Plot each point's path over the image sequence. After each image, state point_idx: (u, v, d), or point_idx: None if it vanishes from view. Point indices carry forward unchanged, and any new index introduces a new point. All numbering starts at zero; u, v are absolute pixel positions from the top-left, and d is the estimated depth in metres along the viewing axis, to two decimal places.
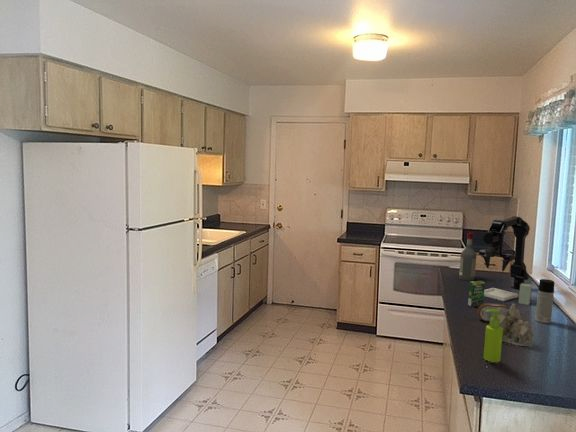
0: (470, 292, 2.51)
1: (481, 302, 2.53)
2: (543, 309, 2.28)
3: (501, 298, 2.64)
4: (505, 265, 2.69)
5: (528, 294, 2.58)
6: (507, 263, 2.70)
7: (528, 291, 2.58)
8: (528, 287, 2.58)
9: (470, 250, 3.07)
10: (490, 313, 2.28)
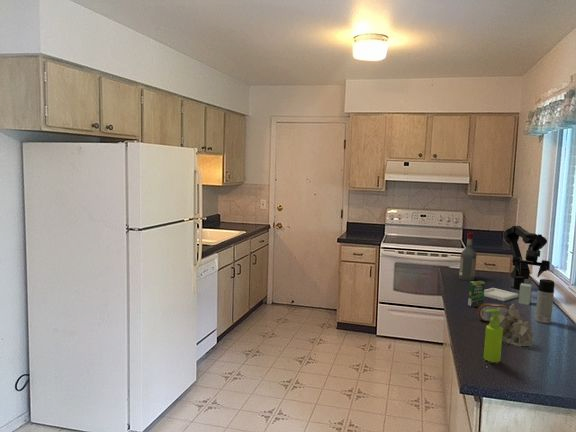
0: (470, 292, 2.51)
1: (481, 302, 2.53)
2: (543, 309, 2.28)
3: (501, 298, 2.64)
4: (541, 271, 2.66)
5: (528, 294, 2.58)
6: (542, 271, 2.67)
7: (528, 291, 2.58)
8: (528, 287, 2.58)
9: (470, 250, 3.07)
10: (490, 313, 2.28)
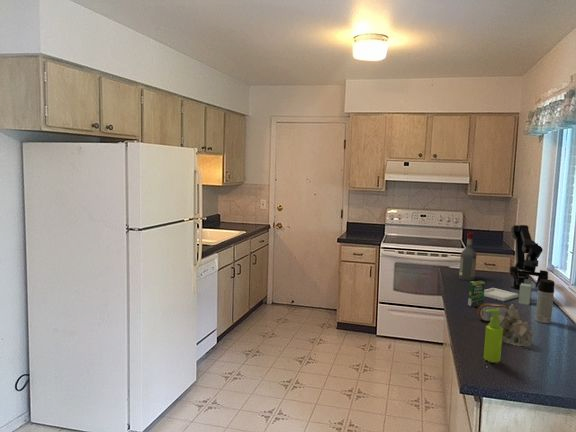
0: (470, 292, 2.51)
1: (481, 302, 2.53)
2: (543, 309, 2.28)
3: (501, 298, 2.64)
4: (539, 282, 2.61)
5: (528, 294, 2.58)
6: None
7: (528, 291, 2.58)
8: (528, 287, 2.58)
9: (470, 250, 3.07)
10: (490, 313, 2.28)
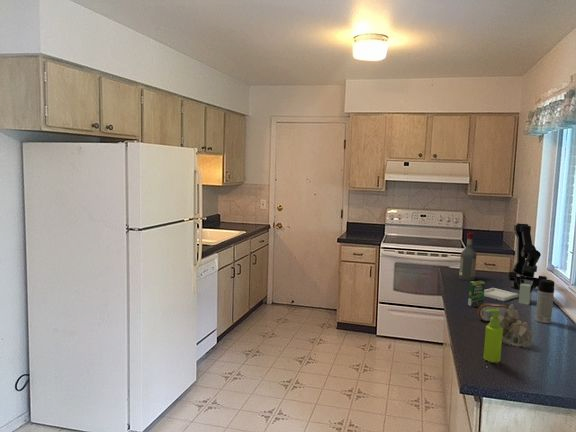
0: (470, 292, 2.51)
1: (481, 302, 2.53)
2: (543, 309, 2.28)
3: (501, 298, 2.64)
4: (534, 287, 2.60)
5: (528, 294, 2.58)
6: (535, 286, 2.61)
7: (528, 291, 2.58)
8: (528, 287, 2.58)
9: (470, 250, 3.07)
10: (490, 313, 2.28)
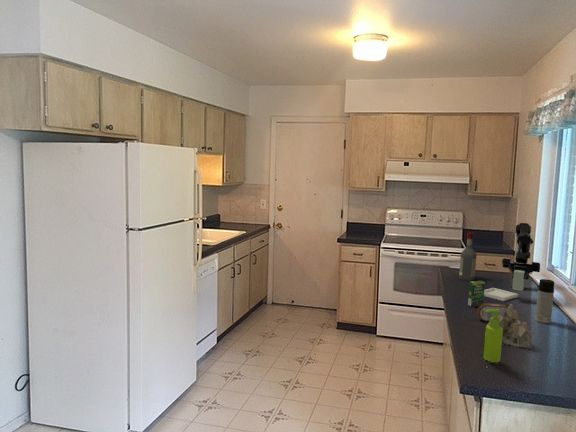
0: (470, 292, 2.51)
1: (481, 302, 2.53)
2: (543, 309, 2.28)
3: (501, 298, 2.64)
4: (527, 273, 2.63)
5: (522, 280, 2.61)
6: (528, 273, 2.64)
7: (522, 278, 2.61)
8: (522, 273, 2.61)
9: (470, 250, 3.07)
10: (490, 313, 2.28)
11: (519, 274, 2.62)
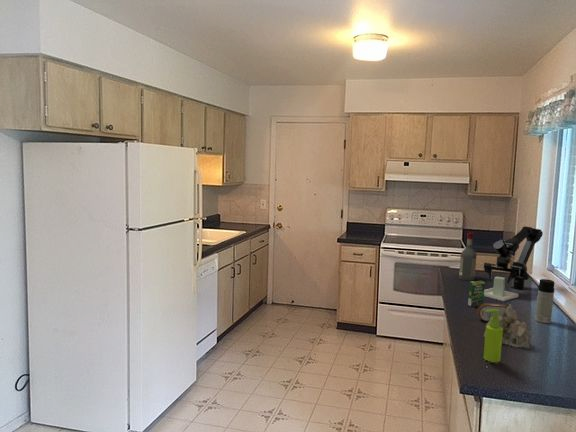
0: (470, 292, 2.51)
1: (481, 302, 2.53)
2: (543, 309, 2.28)
3: (501, 298, 2.64)
4: (511, 278, 2.71)
5: (501, 287, 2.70)
6: (512, 277, 2.72)
7: (502, 284, 2.70)
8: (501, 280, 2.70)
9: (470, 250, 3.07)
10: (490, 313, 2.28)
11: (499, 281, 2.71)
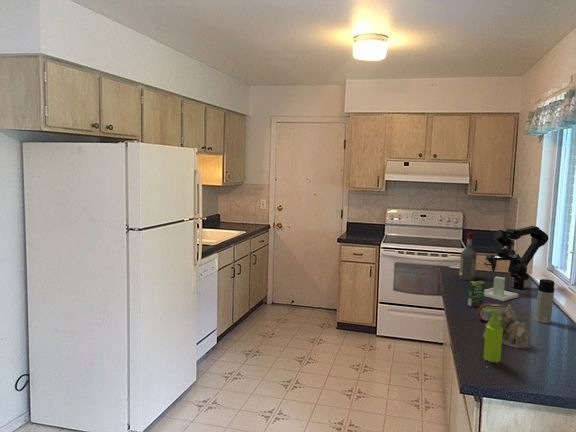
0: (470, 292, 2.51)
1: (481, 302, 2.53)
2: (543, 309, 2.28)
3: (501, 298, 2.64)
4: (512, 266, 2.74)
5: (501, 287, 2.70)
6: (514, 265, 2.75)
7: (502, 284, 2.70)
8: (501, 280, 2.70)
9: (470, 250, 3.07)
10: (490, 313, 2.28)
11: (499, 281, 2.71)
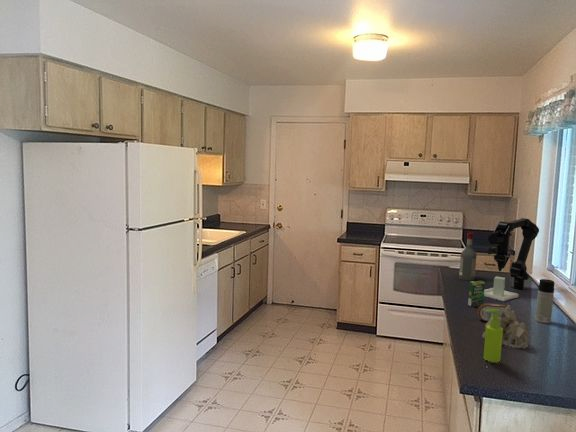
0: (470, 292, 2.51)
1: (481, 302, 2.53)
2: (543, 309, 2.28)
3: (501, 298, 2.64)
4: (499, 265, 2.77)
5: (501, 287, 2.70)
6: (502, 263, 2.76)
7: (502, 284, 2.70)
8: (501, 280, 2.70)
9: (470, 250, 3.07)
10: (490, 313, 2.28)
11: (499, 281, 2.71)
